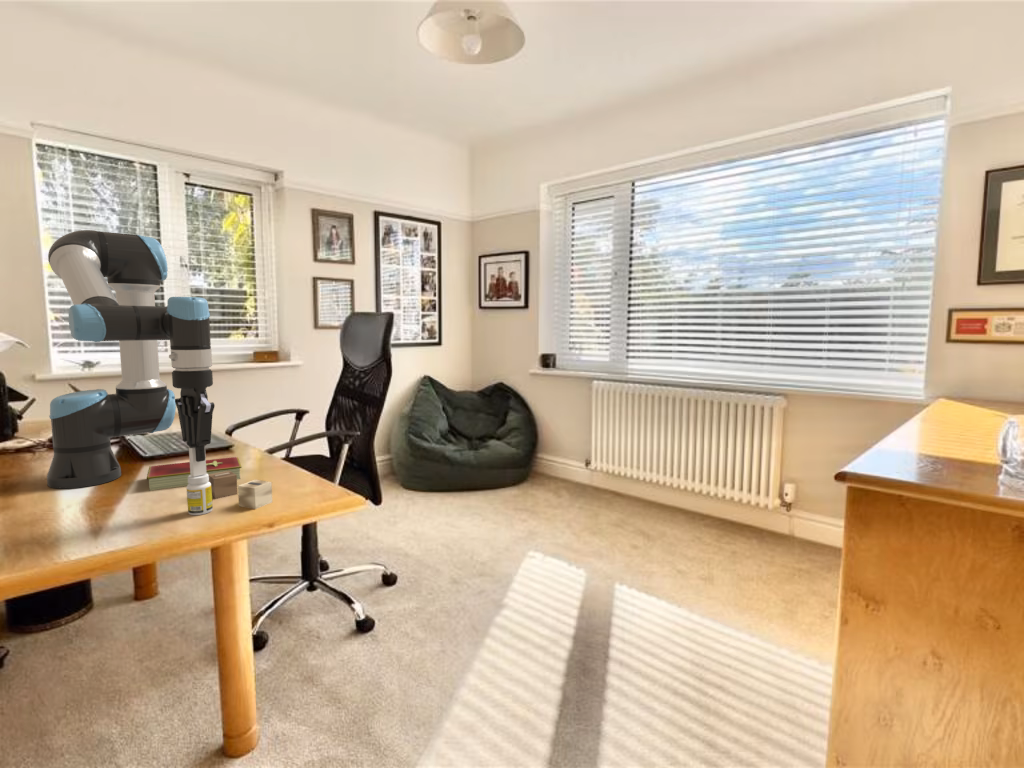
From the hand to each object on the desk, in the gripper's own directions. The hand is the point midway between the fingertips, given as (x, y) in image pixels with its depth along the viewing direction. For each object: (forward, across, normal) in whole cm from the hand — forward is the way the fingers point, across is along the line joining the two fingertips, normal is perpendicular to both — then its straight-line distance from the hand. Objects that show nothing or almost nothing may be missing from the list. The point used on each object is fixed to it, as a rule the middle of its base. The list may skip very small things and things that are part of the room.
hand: (198, 474), depth 117 cm
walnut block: (+9, -8, +9) cm, 15 cm away
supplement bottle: (+9, 0, 0) cm, 9 cm away
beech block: (+9, +5, +10) cm, 14 cm away
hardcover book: (+9, -26, +11) cm, 30 cm away
